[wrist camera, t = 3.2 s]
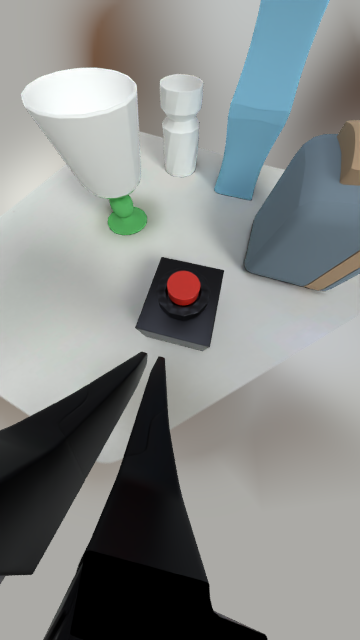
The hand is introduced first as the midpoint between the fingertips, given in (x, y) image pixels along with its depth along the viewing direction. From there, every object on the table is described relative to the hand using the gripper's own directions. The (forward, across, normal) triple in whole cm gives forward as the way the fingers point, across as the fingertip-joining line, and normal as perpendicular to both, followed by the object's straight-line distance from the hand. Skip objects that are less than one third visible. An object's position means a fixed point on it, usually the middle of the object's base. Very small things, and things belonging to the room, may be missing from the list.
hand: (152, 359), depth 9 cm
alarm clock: (+29, -18, -10) cm, 35 cm away
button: (+11, 0, -2) cm, 11 cm away
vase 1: (+46, +11, -26) cm, 54 cm away
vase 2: (+43, -5, -24) cm, 50 cm away
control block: (+16, 0, +3) cm, 16 cm away
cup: (+29, +18, -10) cm, 36 cm away
